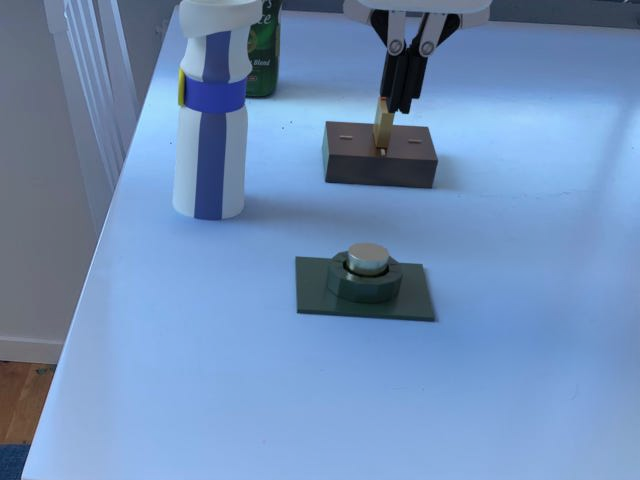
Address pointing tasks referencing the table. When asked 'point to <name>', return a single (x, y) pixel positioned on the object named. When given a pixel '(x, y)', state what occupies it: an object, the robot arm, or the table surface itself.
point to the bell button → (367, 260)
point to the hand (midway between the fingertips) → (396, 107)
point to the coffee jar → (264, 50)
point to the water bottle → (213, 107)
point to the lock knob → (382, 124)
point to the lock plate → (378, 155)
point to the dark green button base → (361, 290)
